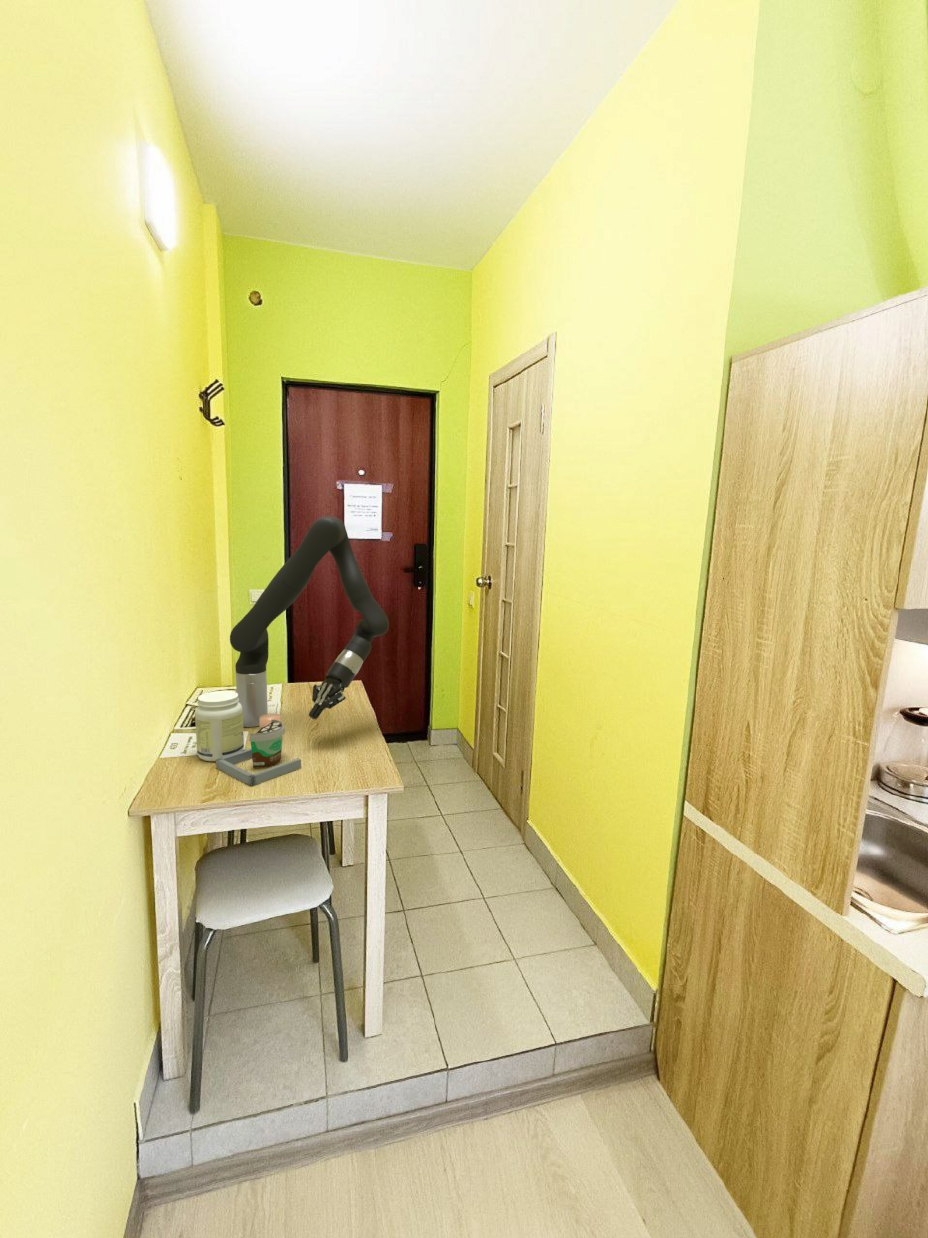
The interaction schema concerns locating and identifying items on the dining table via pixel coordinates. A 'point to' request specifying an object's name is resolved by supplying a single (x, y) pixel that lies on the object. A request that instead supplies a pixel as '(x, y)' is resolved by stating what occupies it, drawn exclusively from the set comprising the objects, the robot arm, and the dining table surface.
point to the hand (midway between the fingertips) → (312, 717)
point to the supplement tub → (219, 725)
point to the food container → (267, 745)
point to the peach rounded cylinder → (268, 719)
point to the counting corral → (254, 779)
